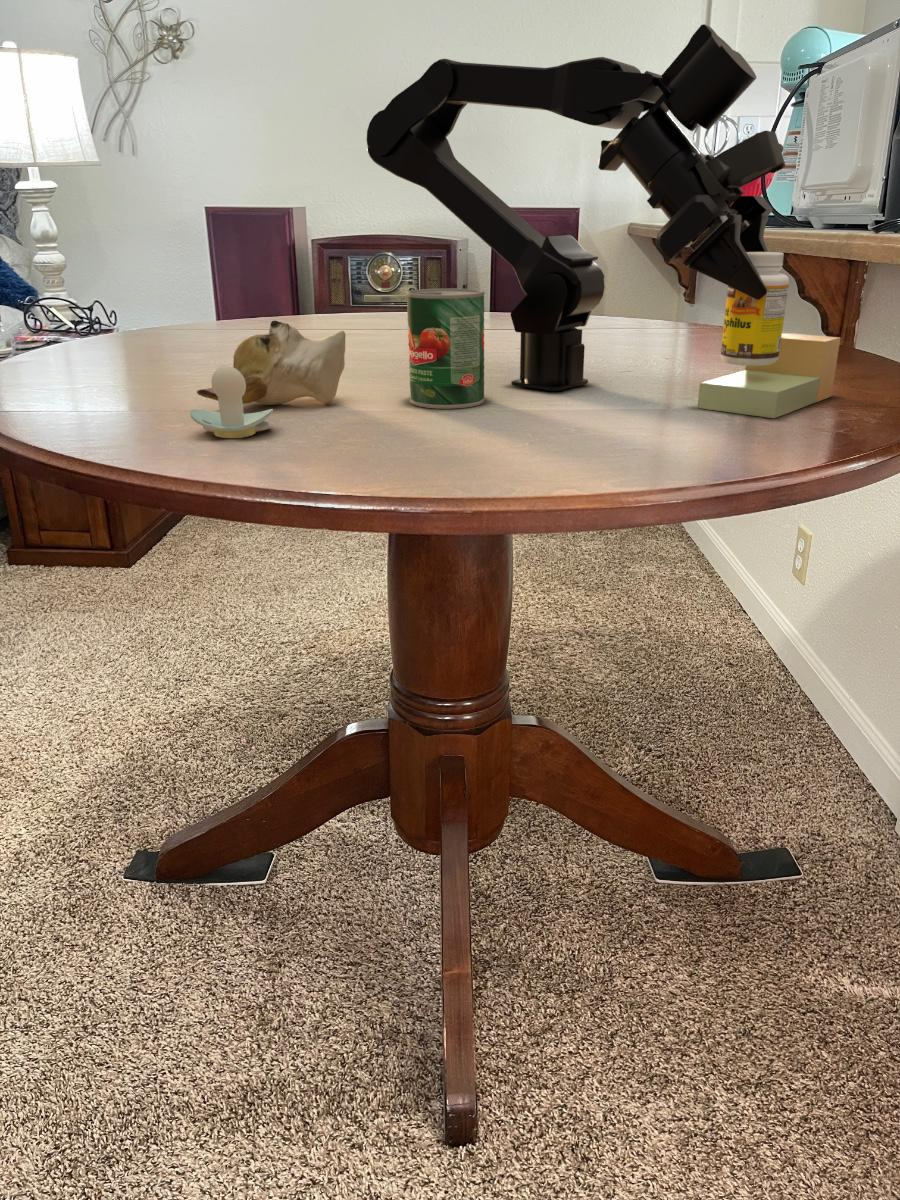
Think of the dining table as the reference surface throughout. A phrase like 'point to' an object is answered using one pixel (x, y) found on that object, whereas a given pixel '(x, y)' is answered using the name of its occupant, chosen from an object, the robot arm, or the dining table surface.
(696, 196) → the robot arm
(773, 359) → the supplement bottle
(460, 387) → the canned tomato
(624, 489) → the dining table surface
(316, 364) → the ceramic sculpture
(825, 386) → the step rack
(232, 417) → the pacifier
